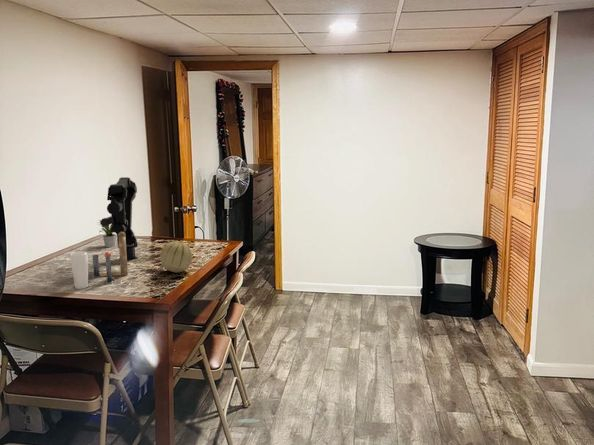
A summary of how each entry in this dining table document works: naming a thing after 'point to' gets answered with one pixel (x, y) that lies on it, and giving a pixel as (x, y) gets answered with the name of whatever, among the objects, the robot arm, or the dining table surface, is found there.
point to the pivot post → (96, 267)
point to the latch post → (108, 268)
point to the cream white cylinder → (80, 269)
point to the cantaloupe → (176, 256)
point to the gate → (121, 256)
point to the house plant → (108, 236)
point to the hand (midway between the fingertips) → (120, 243)
